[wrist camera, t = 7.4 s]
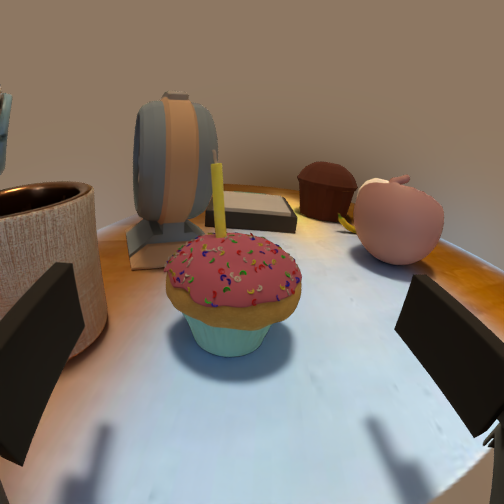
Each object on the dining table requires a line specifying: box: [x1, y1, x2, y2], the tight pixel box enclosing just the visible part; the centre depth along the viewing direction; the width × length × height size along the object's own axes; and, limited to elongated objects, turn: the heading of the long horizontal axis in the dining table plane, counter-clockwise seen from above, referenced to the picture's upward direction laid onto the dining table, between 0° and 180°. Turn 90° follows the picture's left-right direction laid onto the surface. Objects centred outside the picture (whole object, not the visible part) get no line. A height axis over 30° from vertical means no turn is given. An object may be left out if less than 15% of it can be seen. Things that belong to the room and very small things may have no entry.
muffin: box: [297, 162, 358, 222], centre depth 53 cm, size 12×11×10 cm
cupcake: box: [164, 150, 302, 357], centre depth 18 cm, size 9×8×12 cm
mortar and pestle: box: [354, 175, 444, 265], centre depth 34 cm, size 12×12×12 cm
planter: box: [0, 181, 107, 360], centre depth 15 cm, size 11×11×10 cm
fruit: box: [338, 213, 357, 233], centre depth 46 cm, size 7×1×3 cm, turn 91°
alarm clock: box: [126, 91, 218, 270], centre depth 31 cm, size 14×10×18 cm
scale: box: [205, 191, 297, 233], centre depth 48 cm, size 13×14×3 cm
